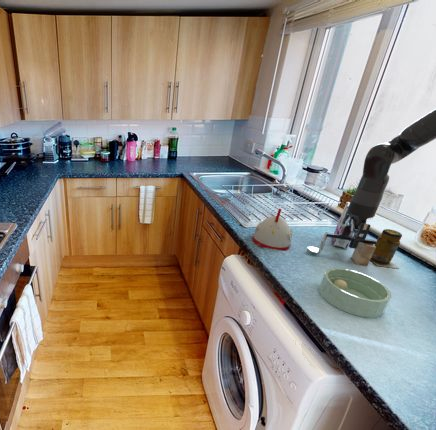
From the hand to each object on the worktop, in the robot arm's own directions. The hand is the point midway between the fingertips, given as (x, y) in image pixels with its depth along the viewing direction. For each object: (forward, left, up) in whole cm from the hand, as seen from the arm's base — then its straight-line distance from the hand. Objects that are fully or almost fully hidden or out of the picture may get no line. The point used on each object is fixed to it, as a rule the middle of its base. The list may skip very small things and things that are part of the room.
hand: (347, 242), depth 105 cm
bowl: (+5, +27, -7) cm, 28 cm away
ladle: (+2, 0, -7) cm, 8 cm away
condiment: (-14, -4, -7) cm, 16 cm away
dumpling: (+7, +24, -6) cm, 25 cm away
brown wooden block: (-6, 0, -7) cm, 9 cm away
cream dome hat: (+24, -3, -7) cm, 25 cm away
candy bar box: (-4, -15, -7) cm, 17 cm away
